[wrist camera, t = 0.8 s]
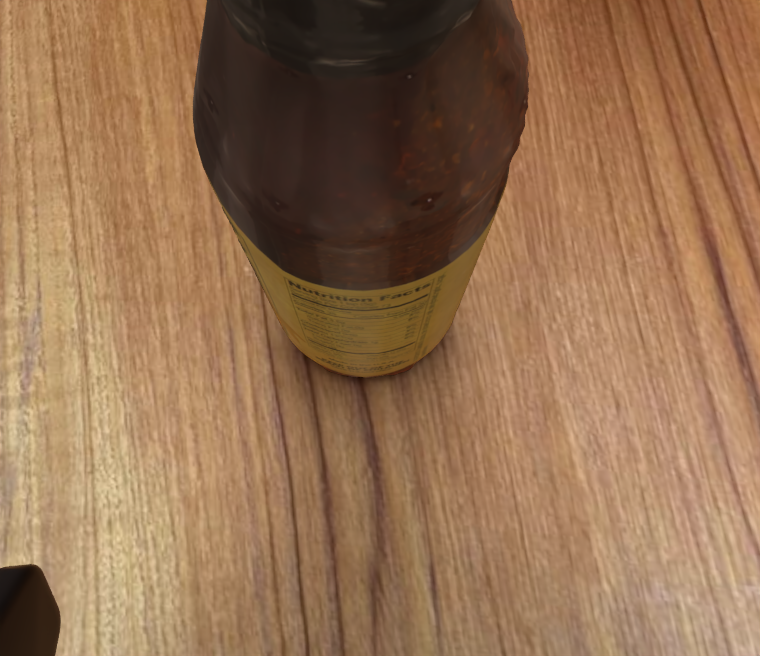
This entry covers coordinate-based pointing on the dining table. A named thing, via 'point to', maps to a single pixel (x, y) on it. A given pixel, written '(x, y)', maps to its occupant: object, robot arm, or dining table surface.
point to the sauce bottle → (361, 160)
